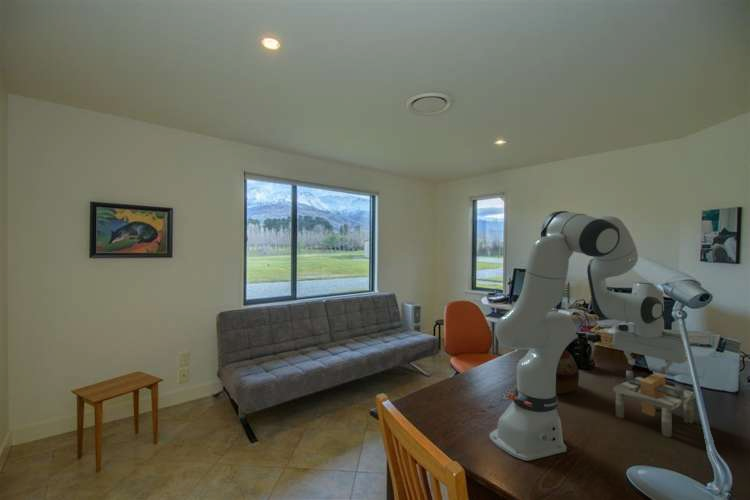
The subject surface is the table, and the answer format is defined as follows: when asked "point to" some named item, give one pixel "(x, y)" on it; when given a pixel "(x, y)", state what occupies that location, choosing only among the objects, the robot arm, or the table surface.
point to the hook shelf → (656, 400)
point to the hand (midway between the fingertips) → (647, 368)
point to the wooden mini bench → (651, 391)
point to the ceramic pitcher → (566, 374)
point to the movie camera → (583, 349)
